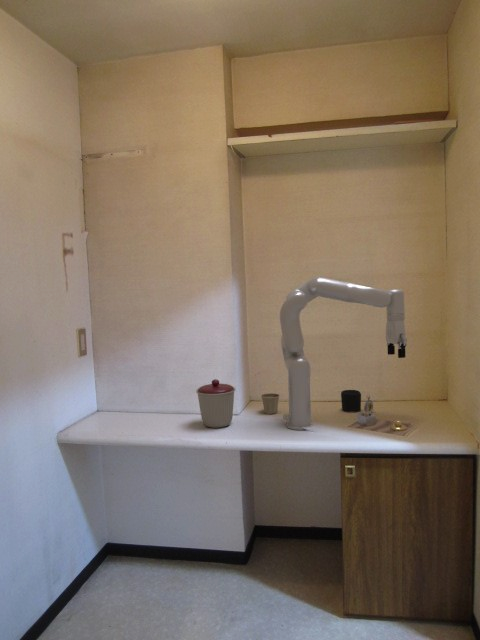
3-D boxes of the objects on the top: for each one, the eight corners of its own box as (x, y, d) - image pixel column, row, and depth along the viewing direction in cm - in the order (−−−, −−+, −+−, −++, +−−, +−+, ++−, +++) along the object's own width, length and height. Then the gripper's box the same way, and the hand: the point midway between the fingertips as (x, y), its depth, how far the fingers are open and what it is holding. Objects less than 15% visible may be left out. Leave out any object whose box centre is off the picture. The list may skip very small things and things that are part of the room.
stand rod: (363, 423, 212) (363, 411, 212) (365, 422, 214) (365, 410, 214) (367, 424, 211) (367, 412, 211) (369, 423, 213) (369, 411, 212)
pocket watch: (383, 419, 222) (383, 397, 221) (364, 419, 223) (364, 397, 222) (382, 414, 230) (381, 393, 229) (363, 414, 231) (363, 393, 230)
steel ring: (355, 424, 212) (355, 415, 212) (362, 420, 218) (362, 411, 217) (371, 426, 208) (370, 417, 207) (377, 422, 213) (377, 413, 213)
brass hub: (387, 429, 203) (387, 421, 203) (393, 425, 209) (393, 417, 208) (403, 431, 199) (403, 423, 199) (409, 427, 205) (408, 419, 204)
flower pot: (261, 410, 246) (260, 393, 245) (279, 409, 246) (279, 392, 245) (261, 415, 237) (260, 397, 236) (280, 414, 236) (280, 397, 235)
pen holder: (337, 412, 236) (337, 392, 235) (349, 408, 242) (348, 388, 241) (353, 416, 229) (353, 395, 228) (365, 412, 235) (364, 391, 234)
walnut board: (348, 429, 209) (348, 426, 209) (363, 420, 222) (363, 417, 222) (403, 438, 195) (403, 435, 195) (416, 428, 207) (416, 425, 207)
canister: (242, 420, 230) (240, 375, 228) (229, 431, 213) (227, 384, 211) (206, 418, 236) (204, 375, 234) (191, 429, 219) (189, 383, 217)
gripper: (378, 316, 222) (379, 353, 224) (396, 319, 205) (397, 359, 207) (394, 315, 223) (395, 352, 225) (413, 318, 206) (414, 358, 208)
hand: (396, 356), depth 216 cm, fingers open, 9 cm apart
